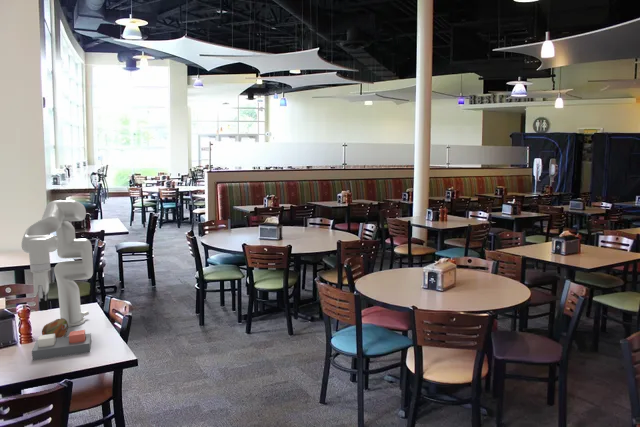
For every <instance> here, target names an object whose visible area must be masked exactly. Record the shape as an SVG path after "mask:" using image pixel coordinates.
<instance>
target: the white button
mask: <svg viewBox="0 0 640 427" xmlns="http://www.w3.org/2000/svg"><path fill="white" fill-rule="evenodd" d="M37 340H38V347H46V346H53V345H55V343H56V338H55V334H48V335H42V334H41V335H39V336H38V338H37Z"/></svg>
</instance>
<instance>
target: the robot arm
mask: <svg viewBox="0 0 640 427" xmlns="http://www.w3.org/2000/svg"><path fill="white" fill-rule="evenodd" d="M86 215H87V211H86V207H85V205H84V204H83V203H81V202H79V201H78V200H73V199H68V200H67V199H65V200H62V199H61V200H52V201H49V202H48V204H46V207H45V208H44V212H43V214H42V218H41V219H40V220H38V221H36V222H34V223H33V224H31V225H30V226H28V227H27V229H26V230H25V232H24V233H23V237H22V240H21V249H22V251H23V252H24V253H26V254H28V258H29V267H30V273H32V281H33V282H32V284H33V285H32V286H33V296H34V297H36V296H37V295H38V307H39V312H43V311H48V310H49V299H48V293H49V290H50V280H49V271H51V270H52V269H51V259H50V257H51V256H50V253H53V252H55V251H56V253H57V256H58V257H59V258H60V259H81V260H69V261H68V260H66V261H60V262H58V263H56V265H55V266H54V268H53V270H54V271H53V272H54V275H55V279H56V285H57V292H58V294H57V296H58V303H59V304H58V305H59V315H60V318H59V319H62V318H63V319H65V320H66V321H67V323H68V328H70V327H71V328H72V327H76V326H80V325H82V324H85V322H86V319H85V318H84V317H85V316H88V315H90V312H89V310H86V311H84V312H83V311H82V309H81V296H80V288H79V285H78V284H77V282H75V281H79V280H80V281H81V280H89V279H92V276H93V274H94V264H93V263H94V262H93V246H92V242H91V240H90V239H88V238H76V229H75V227H74V226H73V224H72V223H71V222H83V220H85V218H86ZM55 232H56V233H55ZM53 233H55V234H56V235H54V234H53Z"/></svg>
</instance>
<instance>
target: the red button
mask: <svg viewBox="0 0 640 427" xmlns="http://www.w3.org/2000/svg"><path fill="white" fill-rule="evenodd" d="M85 334H86V329H79V330H72V331H71V330H70V331H69V335H68V336H69V342H70V343H76V342H83V341H85V340H86V335H85Z"/></svg>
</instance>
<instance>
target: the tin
mask: <svg viewBox="0 0 640 427" xmlns="http://www.w3.org/2000/svg"><path fill="white" fill-rule="evenodd" d="M68 330H69V327H68V323H67V321H66V320H65V319H63V318H62V319H61V318H57V319H55V320H52V321H50V322H48V323H46V324H44V326H42V329H41V335H48V334H55V338H59V337H65V336H66V334H67V333H68Z"/></svg>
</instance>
